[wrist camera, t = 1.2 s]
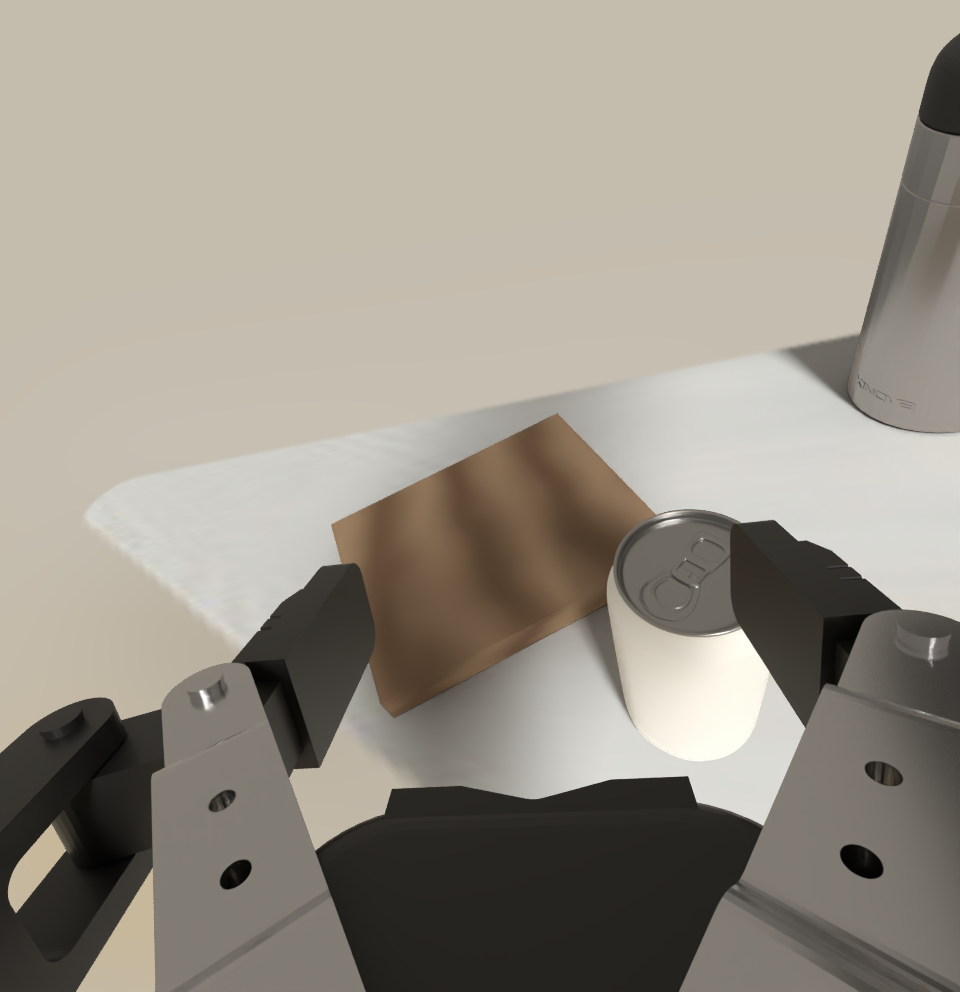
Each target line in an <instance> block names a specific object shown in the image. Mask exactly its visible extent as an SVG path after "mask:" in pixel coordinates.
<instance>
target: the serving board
mask: <svg viewBox="0 0 960 992" xmlns="http://www.w3.org/2000/svg"><path fill="white" fill-rule="evenodd" d="M655 515H656V514H655V513H654V512H653V511H652V510H651V509H650V508H649V507H648V506H647V505H646V504H645V503H644V502H643V501H642V500H641V499H640V498H639V497H638V496H637V495H636V494H635V493H634V492H633V491H632V490H631V489H630V488H629V487H628V486H627V485H626V484H625V483H624V481H623V480H622V479H621V478H620V477H619V476H618V475H617V474H616V473H615V472H614V471H613V470H612V469H611V468H610V467H609V466H608V465H607V464H606V463H605V462H604V461H603V460H602V459H601V458H600V457H599V456H598V455H597V454H596V453H595V452H594V451H593V450H592V449H591V448H590V447H589V446H588V445H587V444H586V442H585V441H584V440H583V439H582V438H581V437H580V436H579V435H578V434H577V433H576V432H575V431H574V430H573V429H572V428H571V427H570V426H569V425H568V424H567V423H566V422H565V421H564V420H563V419H562V418H561V417H560V416H559V415H558V414H555V415H553V416H551V417H549V418H547V419H545V420H543V421H541V422H539V423H537V424H535V425H533V426H531V427H529V428H527V429H525V430H523V431H521V432H519V433H517V434H515V435H513V436H511V437H508V438H506V439H504V440H502V441H500V442H498V443H496V444H494V445H492V446H490V447H488V448H486V449H484V450H482V451H480V452H478V453H476V454H474V455H472V456H470V457H468V458H466V459H464V460H462V461H460V462H458V463H456V464H453V465H451V466H449V467H447V468H445V469H443V470H441V471H439V472H437V473H435V474H433V475H431V476H429V477H427V478H425V479H423V480H421V481H419V482H417V483H415V484H413V485H411V486H409V487H407V488H405V489H403V490H401V491H398V492H396V493H394V494H392V495H390V496H388V497H386V498H384V499H382V500H380V501H378V502H376V503H374V504H372V505H370V506H368V507H366V508H364V509H362V510H360V511H358V512H356V513H354V514H352V515H350V516H348V517H346V518H343V519H341V520H339V521H337V522H335V523H333V524H331V526H332V530H333V533H334V537H335V541H336V544H337V548H338V551H339V555H340V559H341V562H342V564H349V563H356V564H357V565H358V566H359V568H360V570H361V573H362V577H363V581H364V585H365V589H366V592H367V596H368V600H369V604H370V608H371V612H372V616H373V620H374V624H375V646H374V650H373V653H372V655H371V657H370V659H369V664H370V667H371V671H372V674H373V678H374V682H375V685H376V689H377V693H378V696H379V700H380V703H381V705H382V706H383V707H384V708H385V709H386V710H387V711H388V712H389V713H390V714H391V715H392V716H393V717H394V718H395V717H397V716H399V715H400V714H402V713H404V712H406V711H408V710H410V709H412V708H414V707H415V706H417V705H419V704H421V703H423V702H425V701H427V700H429V699H430V698H432V697H434V696H436V695H438V694H440V693H442V692H443V691H445V690H447V689H449V688H451V687H453V686H455V685H457V684H458V683H460V682H462V681H464V680H466V679H468V678H470V677H472V676H473V675H475V674H477V673H479V672H481V671H483V670H485V669H487V668H488V667H490V666H492V665H494V664H496V663H498V662H500V661H502V660H503V659H505V658H507V657H509V656H511V655H513V654H515V653H517V652H518V651H520V650H522V649H524V648H526V647H528V646H530V645H532V644H533V643H535V642H537V641H539V640H541V639H543V638H545V637H547V636H548V635H550V634H552V633H554V632H556V631H558V630H560V629H562V628H563V627H565V626H567V625H569V624H571V623H573V622H575V621H577V620H578V619H580V618H582V617H584V616H586V615H588V614H590V613H591V612H593V611H595V610H597V609H599V608H601V607H603V606H605V605H606V604H608V603H607V582H608V577H609V573H610V571H611V568H612V566H613V563H614V557H615V554H616V551H617V549H618V546H619V544H620V543H621V541H622V540H623V538H624V537H625V536H626V535H627V534H628V532H629V531H630V530H632V529H633V528H634V527H635V526H637V525H638V524H639V523H641V522H643V521H644V520H646V519H648V518H650V517H652V516H655Z"/></svg>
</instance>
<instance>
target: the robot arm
mask: <svg viewBox="0 0 960 992" xmlns="http://www.w3.org/2000/svg"><path fill="white" fill-rule="evenodd" d="M847 388H848V394H849V396H850V398H851V400H852V401H853V403H854V404H855V405H856V406H857V407H858V408H859V409H860V410H862V411H863V412H865V413H866V414H868V415H869V416H871V417H873V418H875V419H877V420H879V421H881V422H884V423H886V424H889V425H893V426H896V427H899V428H903V429H909V430H914V431H921V432H935V433H942V432H959V431H960V34H958V35H957V36H956V37H954V38H953V39H952V40H951V41H950V42H949V43H948V44H947V45H946V46H945V47H944V48H943V49H942V50H941V52H940V53H939V54H938V56H937V58H936V60H935V62H934V64H933V66H932V68H931V70H930V73H929V76H928V80H927V83H926V87H925V90H924V94H923V98H922V102H921V105H920V109H919V115H918V117H917V120H916V124H915V128H914V132H913V136H912V140H911V143H910V147H909V151H908V155H907V158H906V162H905V166H904V170H903V173H902V178H901V182H900V186H899V190H898V194H897V197H896V201H895V205H894V209H893V212H892V216H891V220H890V224H889V228H888V232H887V235H886V239H885V243H884V247H883V250H882V254H881V258H880V262H879V266H878V270H877V273H876V277H875V281H874V285H873V288H872V292H871V296H870V300H869V303H868V307H867V311H866V315H865V319H864V323H863V326H862V330H861V334H860V337H859V341H858V345H857V349H856V353H855V357H854V361H853V365H852V369H851V372H850V376H849V380H848V384H847ZM730 592H731V602H732V607H733V611H734V614H735V617H736V620H737V622H738V624H739V625H740V627H741V628H742V630H743V631H744V633H745V635H746V636H747V638H748V639H749V641H750V642H751V644H752V646H753V647H754V649H755V650H756V652H757V653H758V655H759V656H760V658H761V660H762V661H763V663H764V664H765V666H766V667H767V669H768V670H769V672H770V674H771V675H772V677H773V678H774V680H775V681H776V683H777V684H778V686H779V688H780V689H781V691H782V692H783V694H784V695H785V697H786V698H787V700H788V702H789V703H790V705H791V706H792V708H793V709H794V711H795V712H796V714H797V716H798V717H799V719H800V720H801V722H802V723H803V725H804V726H805V731H804V733H803V735H802V738H801V740H800V742H799V745H798V747H797V749H796V752H795V754H794V756H793V759H792V761H791V763H790V766H789V768H788V770H787V773H786V775H785V777H784V780H783V782H782V784H781V787H780V789H779V791H778V794H777V796H776V798H775V801H774V803H773V805H772V808H771V810H770V812H769V815H768V817H767V819H766V822H765V824H764V826H763V825H761V824H759V823H757V822H755V821H753V820H751V819H748V818H746V817H743V816H741V815H738V814H736V813H733V812H731V811H728V810H724V809H721V808H717V807H714V806H711V805H706V804H701V803H697V802H696V799H695V796H694V793H693V790H692V787H691V784H690V781H689V778H688V776H685V777H661V778H638V779H614V780H608V781H604V782H601V783H597V784H593V785H589V786H586V787H582V788H578V789H575V790H571V791H567V792H564V793H560V794H556V795H553V796H549V797H545V798H541V799H525V798H519V797H514V796H509V795H504V794H499V793H494V792H489V791H483V790H478V789H473V788H468V787H463V786H451V787H427V788H404V789H392V791H391V795H390V798H389V801H388V805H387V808H386V811H385V814H384V815H381V816H377V817H375V818H372V819H370V820H367V821H364V822H362V823H360V824H357V825H355V826H354V827H351V828H350V829H348V830H345V831H344V832H342V833H340V834H339V835H337V836H336V837H334V838H333V839H331V840H329V841H328V842H326V843H325V844H324V845H322V846H321V847H320V848H318V849H317V850H316V851H315V850H314V847H313V844H312V841H311V839H310V836H309V833H308V830H307V827H306V825H305V822H304V819H303V816H302V814H301V811H300V808H299V805H298V803H297V799H296V797H295V794H294V792H293V788H292V785H291V783H290V780H289V777H290V775H291V773H292V771H293V769H303V768H319V767H320V766H321V764H322V761H323V759H324V757H325V755H326V753H327V750H328V748H329V746H330V744H331V742H332V740H333V738H334V736H335V733H336V731H337V729H338V727H339V725H340V722H341V720H342V718H343V716H344V714H345V712H346V709H347V707H348V705H349V703H350V701H351V699H352V696H353V694H354V692H355V690H356V688H357V685H358V683H359V681H360V679H361V677H362V675H363V672H364V670H365V668H366V666H367V664H368V662H369V659H370V657H371V655H372V653H373V650H374V646H375V624H374V620H373V616H372V612H371V608H370V604H369V600H368V596H367V592H366V589H365V585H364V581H363V577H362V573H361V570H360V568H359V566H358V565H357V564H356V563H349V564H339V565H330V566H322V567H321V568H320V569H319V570H318V571H317V572H316V574H315V575H314V576H313V577H312V579H311V580H310V581H309V582H308V584H307V585H306V586H305V587H304V589H301V590H299V591H298V592H296V593H295V594H293V595H292V596H291V597H289V598H288V599H286V600H285V601H283V602H282V603H281V604H280V605H279V607H278V608H277V609H276V610H275V611H274V612H273V614H272V615H271V616H270V619H268V620H267V621H266V622H265V623H264V624H263V626H262V627H261V631H258V632H257V633H256V634H255V635H254V636H253V637H252V639H251V640H250V641H249V642H248V643H247V645H246V646H245V647H244V648H243V649H242V651H241V652H240V653H239V654H238V655H237V657H236V658H235V659H234V660H233V661H232V662H231V663H225V664H220V665H216V666H212V667H209V668H207V669H204V670H202V671H199V672H197V673H195V674H193V675H191V676H190V677H188V678H186V679H185V680H183V681H182V682H181V683H179V684H178V685H177V686H175V687H174V688H173V689H172V690H171V691H170V692H169V693H168V694H167V696H166V697H165V699H164V701H163V703H162V708H161V709H160V710H157V711H153V712H149V713H146V714H142V715H139V716H136V717H131V718H128V719H125V720H121V719H120V717H119V715H118V712H117V710H116V708H115V706H114V704H113V702H112V701H111V700H110V699H107V698H91V699H86V700H82V701H79V702H76V703H73V704H70V705H68V706H65V707H63V708H61V709H59V710H57V711H55V712H53V713H51V714H49V715H47V716H46V717H44V718H43V719H41V720H40V721H38V722H37V723H35V724H34V725H32V726H31V727H30V728H29V729H27V730H26V731H25V732H24V733H23V734H21V736H19V737H18V738H17V739H16V740H15V741H14V742H13V743H11V744H10V745H9V746H8V747H7V748H6V749H5V750H4V751H2V752H1V753H0V992H76V990H77V989H78V987H79V986H80V984H81V982H82V981H83V979H84V978H85V976H86V974H87V973H88V971H89V969H90V968H91V966H92V965H93V963H94V961H95V960H96V958H97V957H98V955H99V953H100V951H101V950H102V949H103V947H104V945H105V944H106V942H107V940H108V939H109V937H110V936H111V934H112V932H113V931H114V929H115V927H116V926H117V924H118V923H119V921H120V919H121V918H122V916H123V915H124V913H125V911H126V910H127V908H128V906H129V905H130V903H131V902H132V900H133V899H134V897H135V895H136V893H137V892H138V890H139V889H140V887H141V886H142V884H143V882H144V881H145V879H146V878H147V876H148V874H149V873H150V871H151V869H152V868H153V893H154V938H155V986H156V987H155V992H960V622H958V621H955V620H953V619H950V618H947V617H944V616H941V615H937V614H933V613H928V612H922V611H915V610H902V609H901V608H900V607H899V606H897V605H896V604H895V603H894V602H893V601H891V600H890V599H889V598H888V597H887V596H885V595H884V594H883V593H882V592H881V591H879V590H878V589H877V588H876V587H875V586H873V585H872V584H871V583H870V582H869V581H867V580H866V579H862V577H861V575H860V574H859V573H858V572H856V571H855V570H854V569H853V568H852V567H848V564H847V563H846V562H844V561H843V560H842V559H841V558H840V557H838V556H837V555H836V554H835V553H833V552H832V551H831V550H828V549H826V548H823V547H821V546H818V545H816V544H814V543H811V542H809V541H797V540H796V539H795V538H794V537H793V536H792V535H790V534H789V533H788V532H787V531H786V530H785V529H784V528H783V527H782V526H780V525H779V524H778V523H777V522H776V521H774V520H768V521H759V522H749V523H739V524H734V525H733V526H732V528H731V532H730ZM51 823H52V825H53V827H54V829H55V830H56V832H57V834H58V836H59V838H60V839H61V841H62V843H63V845H64V847H65V849H66V852H65V853H64V854H63V856H62V857H61V858H60V859H59V860H58V862H57V863H56V864H55V866H54V867H53V868H52V869H51V871H50V872H49V873H48V874H47V875H46V877H45V878H44V879H43V880H42V882H41V883H40V884H39V885H38V887H37V888H36V889H35V890H34V892H33V893H32V894H31V895H30V897H29V898H28V899H27V901H26V902H25V903H24V904H23V906H22V907H21V908H20V909H19V910H18V912H17V913H15V912H14V910H13V908H12V907H11V905H10V903H9V900H8V885H9V881H10V878H11V875H12V873H13V870H14V868H15V867H16V865H17V864H18V862H19V861H20V859H21V858H22V857H23V856H24V854H25V853H26V852H27V851H28V850H29V849H30V847H31V846H32V845H33V844H34V843H35V842H36V841H37V839H38V838H39V837H40V836H41V835H42V833H44V831H45V830H46V829H47V828H48V827H49V826H50V825H51Z"/></svg>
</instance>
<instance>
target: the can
mask: <svg viewBox="0 0 960 992" xmlns="http://www.w3.org/2000/svg"><path fill="white" fill-rule="evenodd" d="M739 523H740V522H739V521H737V520H735V519H733V518H730V517H728V516H725V515H722V514H719V513H715V512H711V511H705V510H695V509H684V510H674V511H669V512H664V513H661V514H658V515H655V516H652V517H650V518H648V519H646V520H644V521H643V522H641V523H639V524H638V525H637V526H635V527H634V528H633V529H632V530H630V531H629V532H628V534H627V535H626V536H625V537H624V538H623V540H622V541H621V543H620V544H619V546H618V549H617V551H616V554H615V557H614V563H613V566H612V568H611V571H610V573H609V577H608V582H607V603H608V611H609V617H610V623H611V629H612V634H613V640H614V646H615V651H616V657H617V662H618V668H619V673H620V678H621V684H622V689H623V694H624V699H625V703H626V707H627V710H628V712H629V715H630V717H631V719H632V721H633V723H634V725H635V727H636V728H637V730H638V731H639V732H640V733H641V734H642V735H643V736H644V737H645V738H646V739H647V740H648V741H649V742H650V743H652V744H653V745H655V746H656V747H658V748H659V749H661V750H663V751H664V752H666V753H668V754H671V755H673V756H675V757H678V758H681V759H685V760H692V761H709V760H715V759H719V758H722V757H725V756H727V755H729V754H731V753H733V752H734V751H736V750H737V749H738V748H740V747H741V746H742V745H743V744H744V743H745V742H746V740H747V739H748V738H749V736H750V734H751V733H752V731H753V729H754V726H755V724H756V721H757V717H758V714H759V710H760V707H761V703H762V699H763V696H764V692H765V688H766V684H767V681H768V677H769V673H770V672H769V670H768V669H767V667H766V666H765V664H764V663H763V661H762V660H761V658H760V656H759V655H758V653H757V652H756V650H755V649H754V647H753V646H752V644H751V642H750V641H749V639H748V638H747V636H746V635H745V633H744V631H743V630H742V628H741V627H740V625H739V624H738V622H737V620H736V617H735V614H734V611H733V607H732V602H731V592H730V532H731V528H732V526H733V525H734V524H739Z"/></svg>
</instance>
